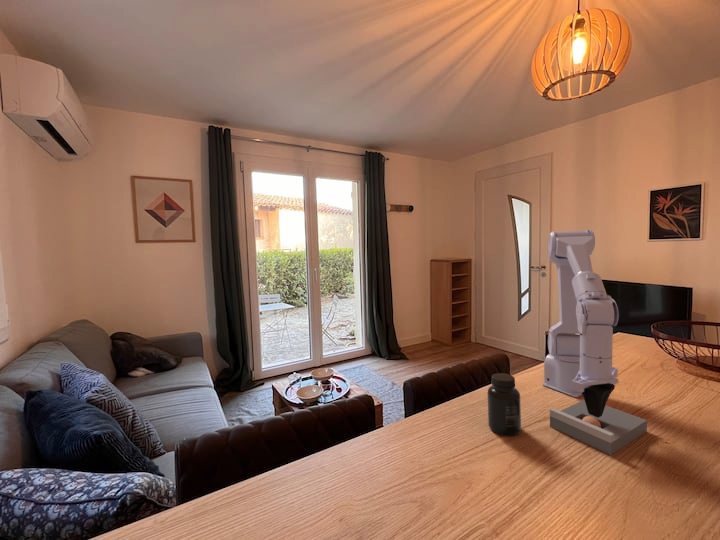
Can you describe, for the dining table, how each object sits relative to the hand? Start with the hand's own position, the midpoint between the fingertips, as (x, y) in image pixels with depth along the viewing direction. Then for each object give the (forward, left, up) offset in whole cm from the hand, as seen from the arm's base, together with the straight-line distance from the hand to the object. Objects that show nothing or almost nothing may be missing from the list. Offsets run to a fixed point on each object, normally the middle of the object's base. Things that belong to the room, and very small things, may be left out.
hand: (595, 414), depth 72 cm
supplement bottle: (-11, -15, -4) cm, 19 cm away
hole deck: (0, +1, -3) cm, 4 cm away
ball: (0, -2, -2) cm, 2 cm away
